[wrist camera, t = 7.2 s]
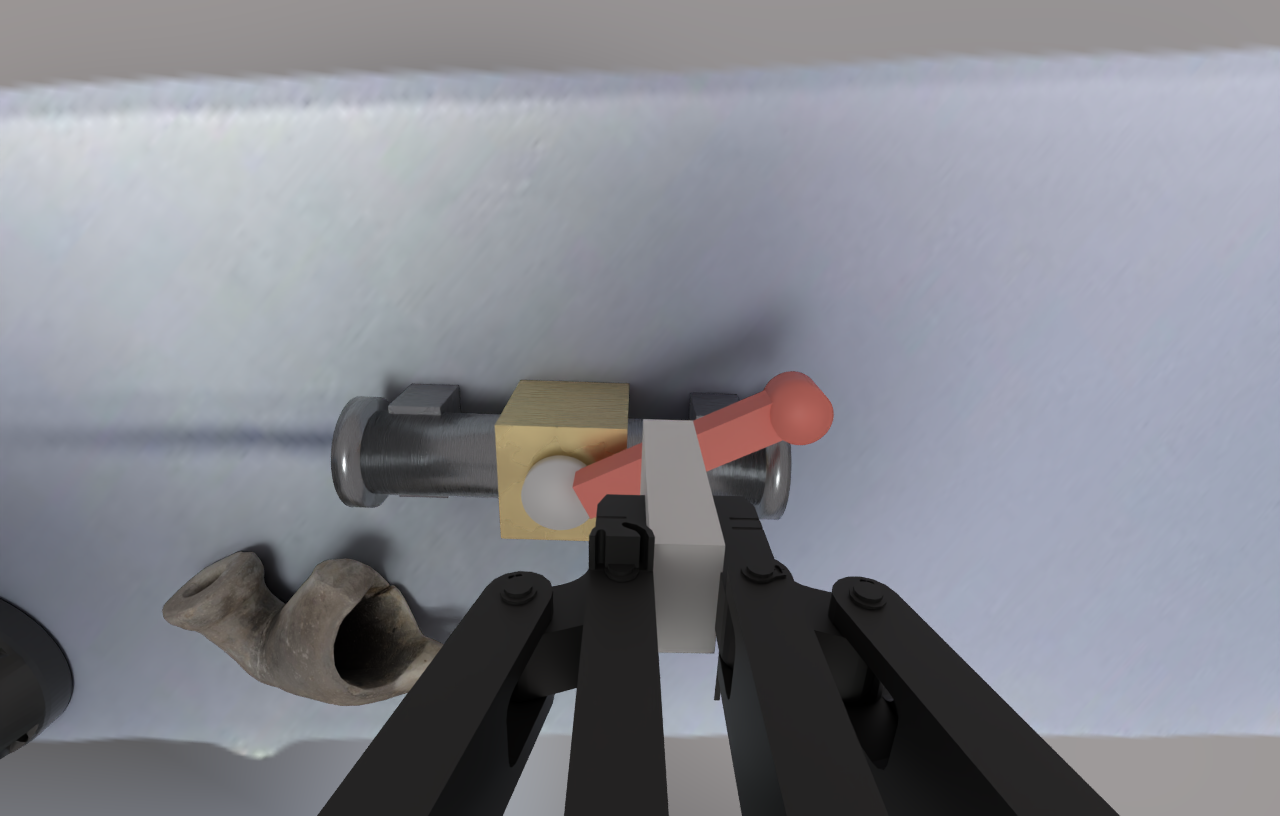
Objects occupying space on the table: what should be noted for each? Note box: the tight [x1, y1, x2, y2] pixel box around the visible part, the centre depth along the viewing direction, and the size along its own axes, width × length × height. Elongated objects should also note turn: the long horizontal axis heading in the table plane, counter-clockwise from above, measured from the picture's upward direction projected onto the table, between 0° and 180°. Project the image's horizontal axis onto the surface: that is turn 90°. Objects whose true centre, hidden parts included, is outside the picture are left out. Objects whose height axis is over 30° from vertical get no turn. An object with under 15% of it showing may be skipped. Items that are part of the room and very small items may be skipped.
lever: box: [521, 371, 833, 530], centre depth 30 cm, size 16×4×3 cm, turn 115°
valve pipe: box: [331, 380, 791, 541], centre depth 36 cm, size 25×7×8 cm, turn 88°
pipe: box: [162, 552, 444, 706], centre depth 42 cm, size 16×9×15 cm
